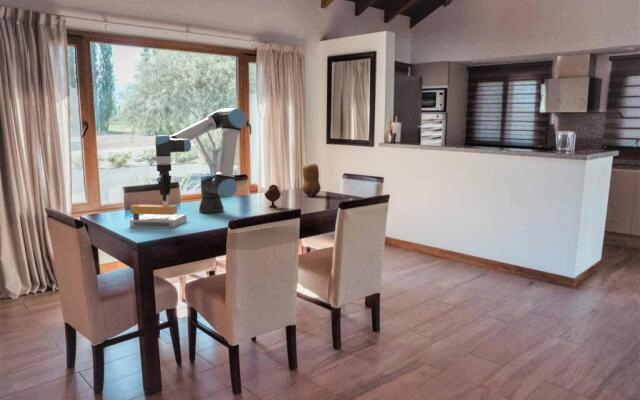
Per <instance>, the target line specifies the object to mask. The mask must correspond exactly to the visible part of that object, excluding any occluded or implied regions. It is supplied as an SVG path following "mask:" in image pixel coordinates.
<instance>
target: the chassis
mask: <svg viewBox="0 0 640 400" xmlns="http://www.w3.org/2000/svg"><path fill="white" fill-rule="evenodd" d="M187 222H188V221H187V214H178V213H175V214H173V215H163V214H133V213H132V218H130V219H129V225H130V228H150V229H152V228H155V229H174V228H177V227H179V226H181V225H183V224H184V223H187Z"/></svg>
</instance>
